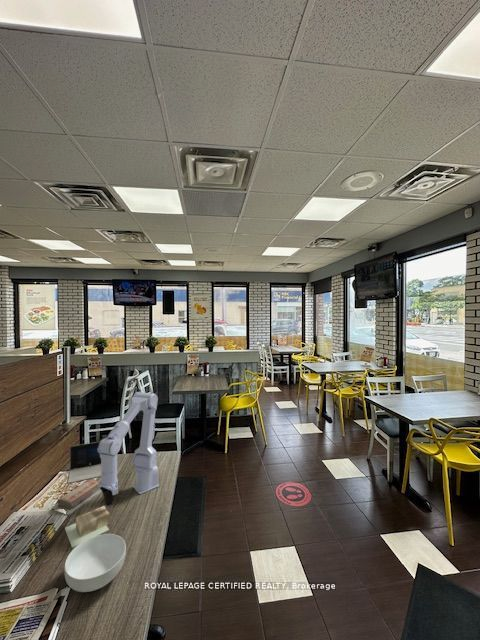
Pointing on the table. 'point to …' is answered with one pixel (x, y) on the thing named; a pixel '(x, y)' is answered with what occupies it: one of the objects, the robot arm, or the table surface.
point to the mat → (76, 539)
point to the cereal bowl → (95, 562)
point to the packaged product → (78, 496)
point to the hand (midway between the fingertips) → (109, 504)
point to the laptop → (84, 462)
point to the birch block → (92, 521)
